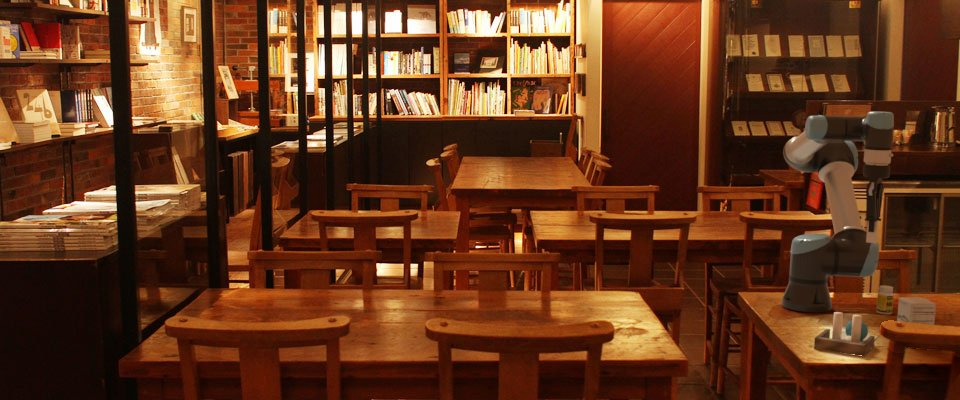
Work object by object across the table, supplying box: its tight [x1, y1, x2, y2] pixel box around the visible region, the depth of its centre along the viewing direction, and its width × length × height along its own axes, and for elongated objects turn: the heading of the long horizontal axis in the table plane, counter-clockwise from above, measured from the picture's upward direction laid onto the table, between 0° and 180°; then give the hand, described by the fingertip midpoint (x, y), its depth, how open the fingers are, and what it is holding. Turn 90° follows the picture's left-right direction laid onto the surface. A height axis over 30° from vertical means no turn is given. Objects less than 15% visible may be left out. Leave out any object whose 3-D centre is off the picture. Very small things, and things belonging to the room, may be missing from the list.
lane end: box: [813, 328, 876, 357], centre depth 283 cm, size 13×12×3 cm
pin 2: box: [851, 314, 863, 343], centre depth 283 cm, size 2×2×9 cm
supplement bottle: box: [876, 285, 895, 315], centre depth 325 cm, size 5×5×8 cm
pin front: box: [842, 336, 851, 342], centre depth 284 cm, size 2×2×9 cm
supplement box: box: [896, 296, 937, 326], centre depth 288 cm, size 7×7×13 cm
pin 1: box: [831, 311, 844, 340], centre depth 286 cm, size 2×2×9 cm
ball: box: [844, 320, 869, 341], centre depth 290 cm, size 6×6×6 cm
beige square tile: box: [841, 330, 879, 343], centre depth 294 cm, size 10×10×1 cm
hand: (871, 242), depth 310 cm, fingers closed
